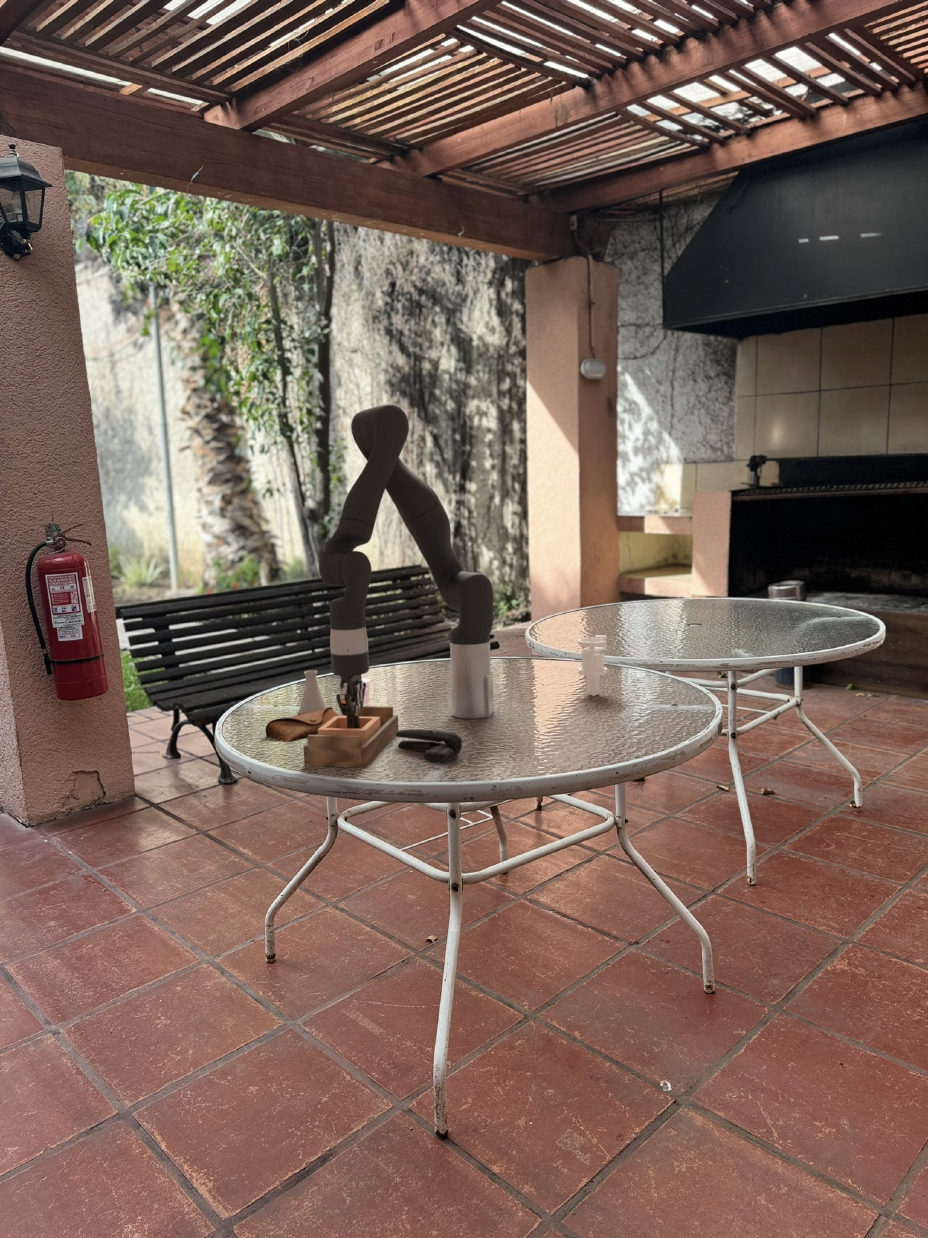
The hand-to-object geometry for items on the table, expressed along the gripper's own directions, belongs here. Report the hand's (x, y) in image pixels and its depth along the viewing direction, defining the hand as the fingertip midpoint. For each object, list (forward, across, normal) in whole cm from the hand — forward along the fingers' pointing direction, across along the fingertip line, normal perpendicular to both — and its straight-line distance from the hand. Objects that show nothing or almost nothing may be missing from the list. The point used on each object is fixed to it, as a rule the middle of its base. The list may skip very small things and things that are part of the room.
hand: (353, 732), depth 183 cm
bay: (+3, 0, 0) cm, 3 cm away
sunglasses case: (+4, +13, +14) cm, 20 cm away
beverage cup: (+4, +24, +6) cm, 25 cm away
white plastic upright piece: (+4, +50, -47) cm, 68 cm away
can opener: (+4, -2, -16) cm, 16 cm away
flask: (+4, +29, +20) cm, 35 cm away
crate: (+2, -2, 0) cm, 3 cm away
